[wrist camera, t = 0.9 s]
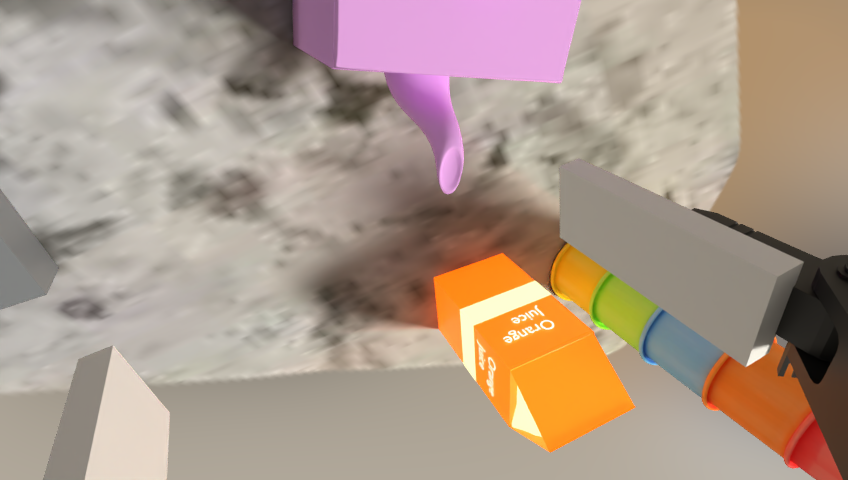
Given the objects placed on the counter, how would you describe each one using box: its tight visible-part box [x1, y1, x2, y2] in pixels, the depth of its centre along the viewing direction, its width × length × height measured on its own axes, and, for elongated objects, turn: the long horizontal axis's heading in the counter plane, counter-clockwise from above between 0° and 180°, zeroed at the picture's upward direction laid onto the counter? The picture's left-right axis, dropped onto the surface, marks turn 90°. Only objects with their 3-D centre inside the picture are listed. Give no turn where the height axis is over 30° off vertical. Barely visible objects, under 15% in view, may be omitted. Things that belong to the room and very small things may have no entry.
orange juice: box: [434, 253, 635, 452], centre depth 43 cm, size 8×9×20 cm
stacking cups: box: [550, 243, 843, 480], centre depth 44 cm, size 10×10×35 cm
